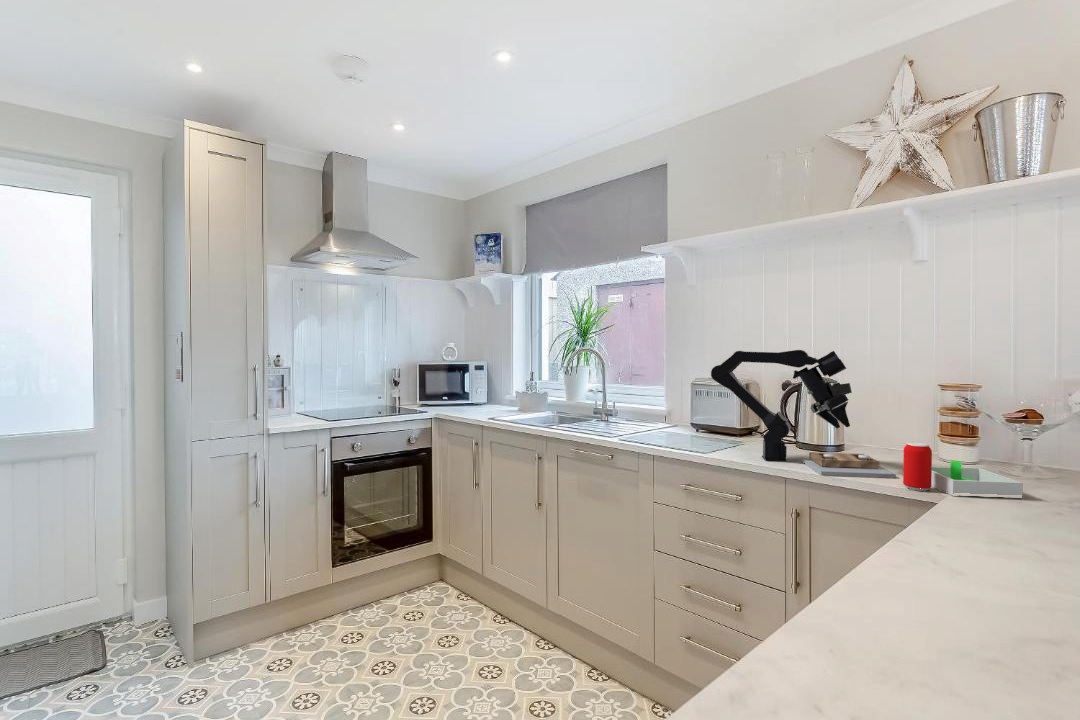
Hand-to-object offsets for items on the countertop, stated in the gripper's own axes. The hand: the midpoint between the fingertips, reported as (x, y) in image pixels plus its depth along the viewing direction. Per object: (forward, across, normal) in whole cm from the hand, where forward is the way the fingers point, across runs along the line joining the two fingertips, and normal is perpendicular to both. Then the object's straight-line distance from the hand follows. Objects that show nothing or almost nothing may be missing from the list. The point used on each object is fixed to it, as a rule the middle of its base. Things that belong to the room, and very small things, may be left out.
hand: (843, 427), depth 175 cm
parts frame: (+25, -22, -12) cm, 36 cm away
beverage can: (+20, -24, 0) cm, 31 cm away
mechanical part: (+25, -22, -11) cm, 35 cm away
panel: (+9, -1, +6) cm, 11 cm away
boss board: (+11, -4, +7) cm, 14 cm away
